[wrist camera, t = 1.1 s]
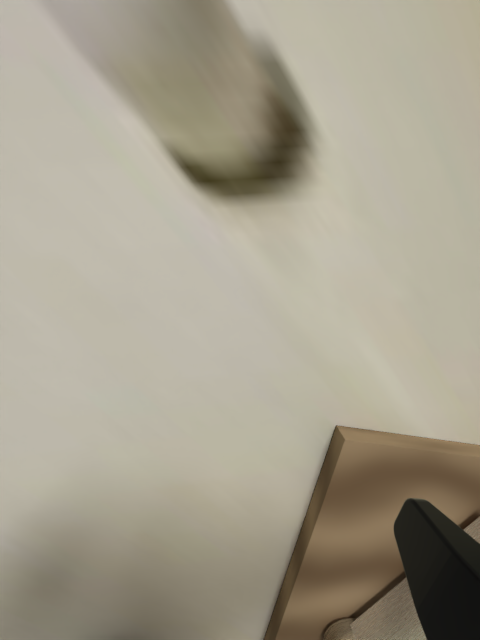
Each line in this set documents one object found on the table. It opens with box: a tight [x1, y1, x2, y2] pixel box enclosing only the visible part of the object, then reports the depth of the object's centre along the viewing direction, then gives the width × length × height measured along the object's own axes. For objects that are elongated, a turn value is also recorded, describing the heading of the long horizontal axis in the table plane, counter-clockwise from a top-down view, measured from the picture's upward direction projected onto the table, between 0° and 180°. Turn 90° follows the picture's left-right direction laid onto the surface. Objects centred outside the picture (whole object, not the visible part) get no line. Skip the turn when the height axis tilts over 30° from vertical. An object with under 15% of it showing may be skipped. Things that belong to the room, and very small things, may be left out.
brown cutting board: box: [264, 426, 480, 640], centre depth 28 cm, size 21×21×2 cm
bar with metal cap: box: [324, 517, 480, 640], centre depth 24 cm, size 16×5×6 cm, turn 137°
